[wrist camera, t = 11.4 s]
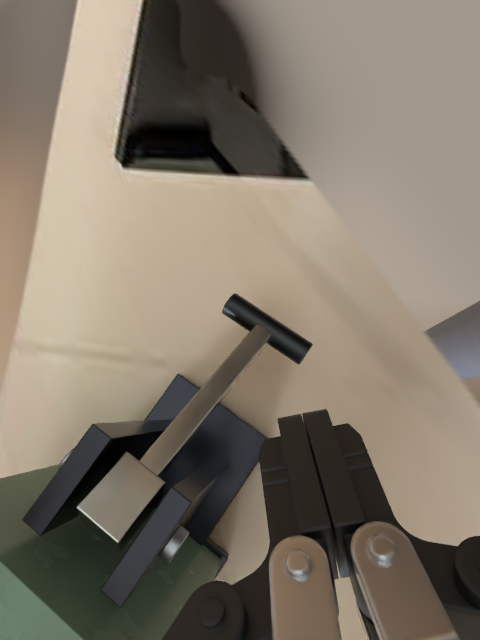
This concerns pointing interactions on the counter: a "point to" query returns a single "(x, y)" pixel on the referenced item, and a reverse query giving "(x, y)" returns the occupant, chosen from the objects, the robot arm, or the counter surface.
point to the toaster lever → (180, 432)
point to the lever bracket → (181, 478)
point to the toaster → (84, 576)
